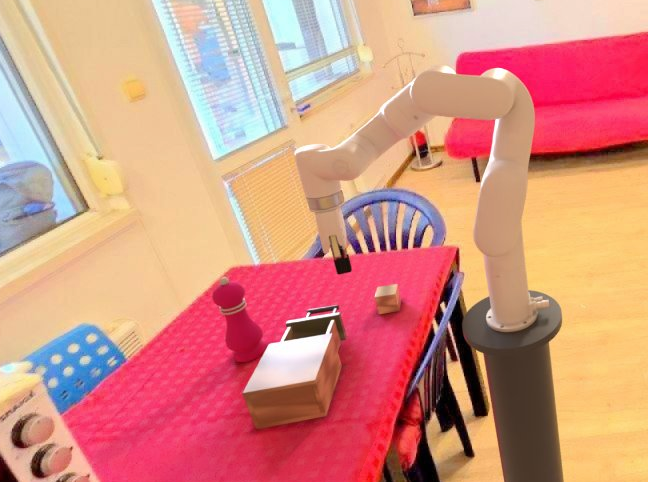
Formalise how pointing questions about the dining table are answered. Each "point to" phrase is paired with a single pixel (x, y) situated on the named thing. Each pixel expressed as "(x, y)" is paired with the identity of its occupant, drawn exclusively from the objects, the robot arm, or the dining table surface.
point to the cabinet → (293, 381)
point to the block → (388, 299)
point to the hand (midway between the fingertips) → (344, 271)
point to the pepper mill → (238, 321)
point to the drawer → (317, 325)
